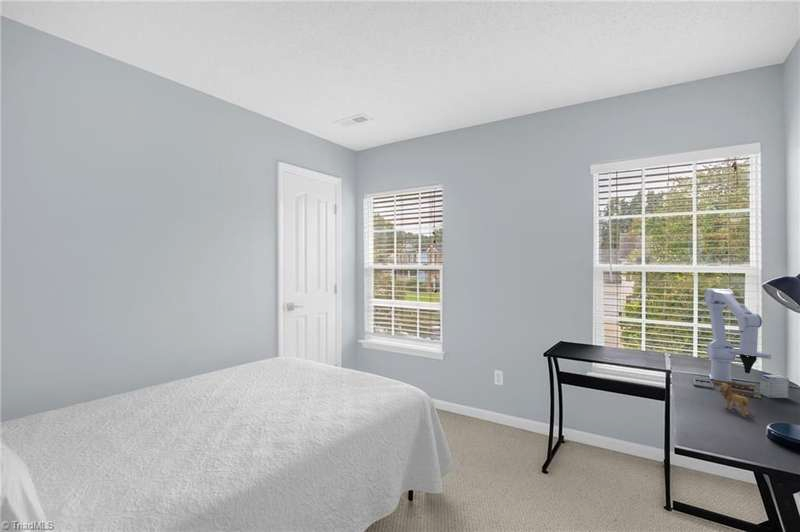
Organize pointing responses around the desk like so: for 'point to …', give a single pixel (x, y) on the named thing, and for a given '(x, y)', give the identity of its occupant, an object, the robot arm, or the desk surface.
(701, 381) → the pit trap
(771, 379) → the medicine box
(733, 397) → the lion figurine
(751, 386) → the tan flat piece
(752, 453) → the desk surface
